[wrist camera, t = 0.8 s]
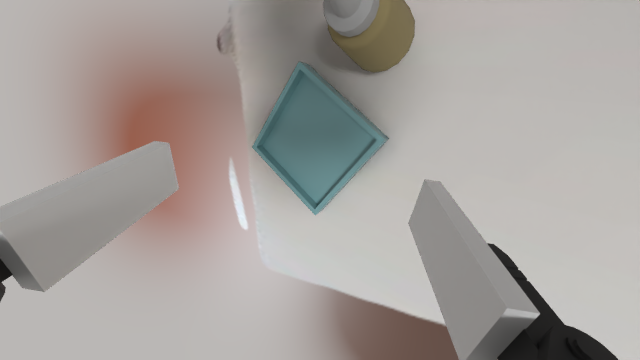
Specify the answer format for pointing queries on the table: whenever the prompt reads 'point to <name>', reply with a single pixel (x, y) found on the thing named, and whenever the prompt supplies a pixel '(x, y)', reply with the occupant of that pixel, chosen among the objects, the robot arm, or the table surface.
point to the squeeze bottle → (371, 30)
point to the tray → (316, 138)
